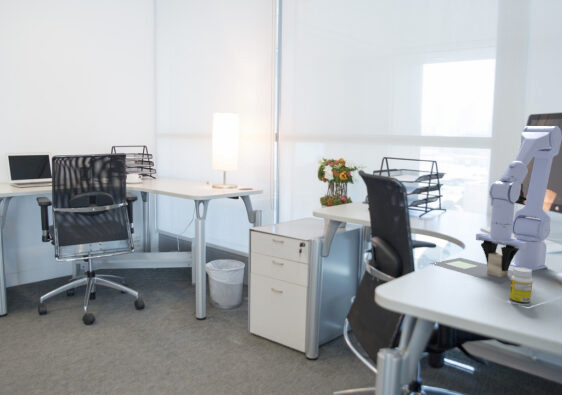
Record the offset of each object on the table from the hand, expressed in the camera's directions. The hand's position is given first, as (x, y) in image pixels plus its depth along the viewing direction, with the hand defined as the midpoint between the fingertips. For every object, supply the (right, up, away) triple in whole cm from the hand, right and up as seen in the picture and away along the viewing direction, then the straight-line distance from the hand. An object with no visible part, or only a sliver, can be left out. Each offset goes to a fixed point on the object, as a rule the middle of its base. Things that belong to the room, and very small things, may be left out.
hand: (497, 268), depth 143 cm
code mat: (-3, -1, +5) cm, 6 cm away
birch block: (0, -2, 0) cm, 2 cm away
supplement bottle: (-5, -5, -24) cm, 25 cm away
